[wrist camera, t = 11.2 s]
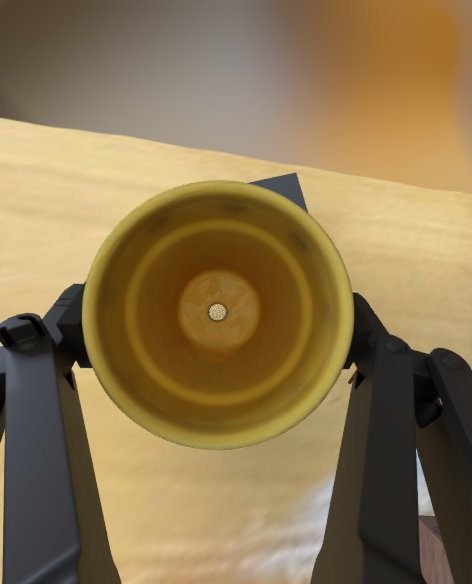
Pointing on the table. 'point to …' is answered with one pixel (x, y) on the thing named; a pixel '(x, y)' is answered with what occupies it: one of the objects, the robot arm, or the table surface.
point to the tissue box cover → (433, 553)
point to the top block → (285, 188)
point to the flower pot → (218, 333)
